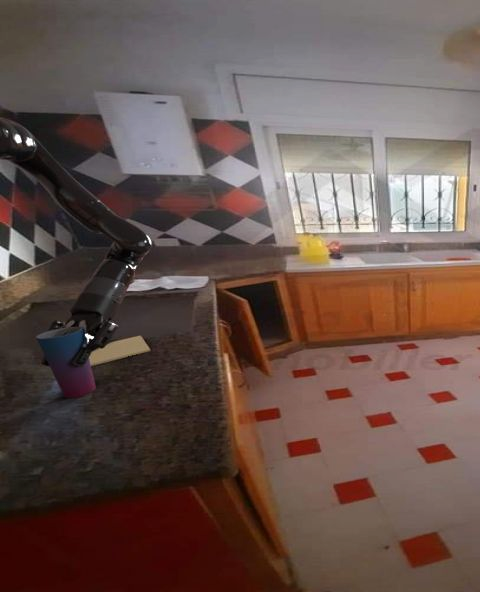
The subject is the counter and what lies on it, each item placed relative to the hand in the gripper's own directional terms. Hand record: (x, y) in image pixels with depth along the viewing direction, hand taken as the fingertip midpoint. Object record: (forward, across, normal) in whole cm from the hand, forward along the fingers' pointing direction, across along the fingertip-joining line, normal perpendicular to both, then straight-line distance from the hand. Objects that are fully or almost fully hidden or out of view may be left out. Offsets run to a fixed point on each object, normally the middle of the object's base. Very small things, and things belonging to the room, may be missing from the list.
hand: (61, 365), depth 69 cm
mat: (-10, -14, +22) cm, 28 cm away
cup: (+4, 0, +7) cm, 8 cm away
